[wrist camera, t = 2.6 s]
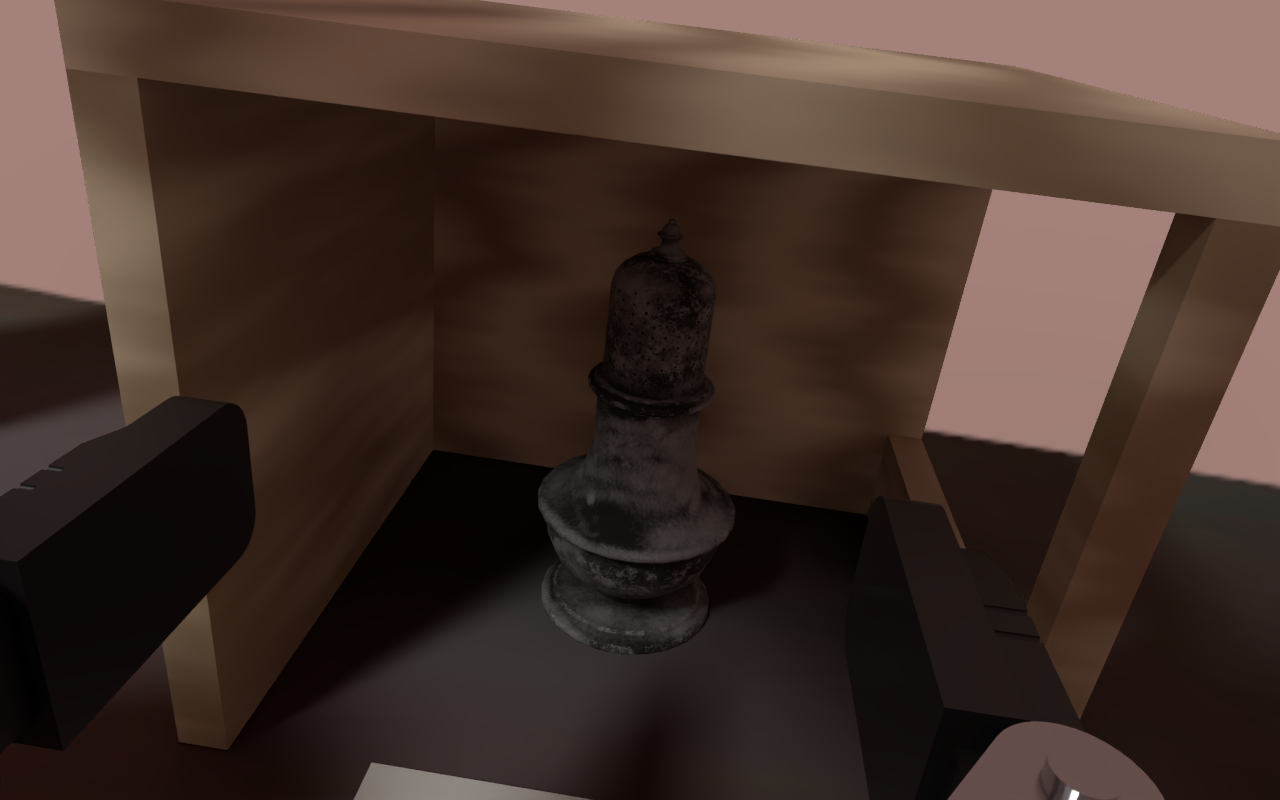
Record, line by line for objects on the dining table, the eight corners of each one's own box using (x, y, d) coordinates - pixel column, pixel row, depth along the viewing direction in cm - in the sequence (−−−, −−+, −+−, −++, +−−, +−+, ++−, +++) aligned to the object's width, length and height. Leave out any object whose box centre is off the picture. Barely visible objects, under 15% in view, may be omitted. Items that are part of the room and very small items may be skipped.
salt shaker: (686, 535, 30) (740, 196, 25) (745, 651, 25) (827, 257, 20) (519, 545, 29) (541, 186, 24) (546, 671, 24) (580, 248, 19)
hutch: (178, 742, 20) (52, -14, 13) (413, 431, 35) (411, -9, 28) (1007, 882, 19) (1334, 147, 12) (893, 503, 34) (1014, 66, 27)
